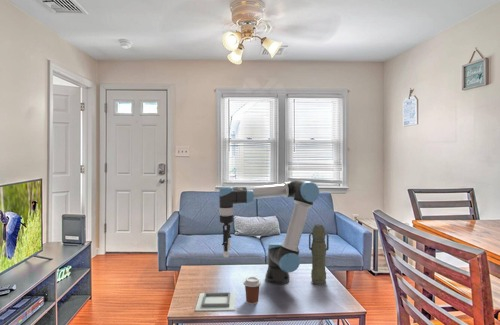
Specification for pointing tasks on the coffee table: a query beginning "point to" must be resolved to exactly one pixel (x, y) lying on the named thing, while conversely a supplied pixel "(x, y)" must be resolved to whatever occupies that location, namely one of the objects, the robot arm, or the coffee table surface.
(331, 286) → the coffee table surface
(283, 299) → the coffee table surface
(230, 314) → the coffee table surface
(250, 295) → the coffee cup
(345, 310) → the coffee table surface
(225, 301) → the square seat
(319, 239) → the thermos
